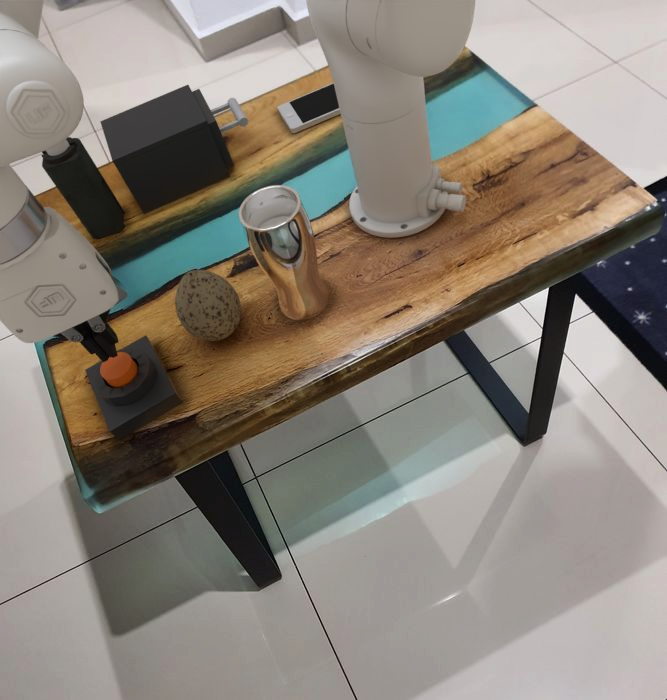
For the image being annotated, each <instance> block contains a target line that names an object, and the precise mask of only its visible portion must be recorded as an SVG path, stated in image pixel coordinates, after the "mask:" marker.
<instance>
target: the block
mask: <svg viewBox="0 0 667 700" xmlns="http://www.w3.org/2000/svg"><path fill="white" fill-rule="evenodd" d="M117 352H124V353H127V354H128V355H129V356H130V357H131V358H132V359H133V361H134V362H135V363H136V364H137V366H138V373H137V376H136V377H135V378H134V380H133V381H132V382H131V383H129V384H127V385H126V386H124V387H120V388H115V387H112V386H111V385H109V383H108V382H107V381H106V380H105V379H104V378H103V377H102V375H101V373H100V367H101V365H102V363H103V362H102V361H101V360H100V361H97V362H96V363H94V364H92V365H91V366H89V367H88V368H86V369H85V370H84V371H85V374H86V376H87V379H88V382H89V385H90V387H91V389H92V391H93V393H94V397H95V399H96V401H97V404H98V406H99V409H100V411H101V414H102V417H103V418H104V419H103V420H104V421H105V424H106V425H107V428H108V431H109V432H110V433H111V435H112V436H114V437H115V438H116V439H117V440H118V441H121V440H123V439H124V438H126V437H127V436H130V435H131V434H133V433H134V432H136V431H138V430H139V429H141V428H143V427H144V426H146V425H148V424H149V423H152V422H153V421H154V420H156V419H158V418H160V417H162V416H163V415H164V414H166V413H167V412H170V411H172V410H173V409H174V408H176V407H179V406H180V405H182V404H183V403H184V402H183V399H182V397H181V396H180V394H179V392H178V390H177V388H176V386H175V384H174V382H173V380H172V378H171V377H170V374H169V372H168V370H167V368H166V367H165V365H164V363H163V361H162V359H161V357H160V354H159V353H158V351H157V349H156V347H155V345H154V344H153V342H152V341H151V339H150V338H149V337H148V335H144V336H142V337H140V338H139V339H137V340H135V341H132V342H131V343H129V344H128V345H126V346H124V347H122V348H120V349H118V350H117Z"/></svg>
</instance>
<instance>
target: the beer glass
mask: <svg viewBox="0 0 667 700" xmlns="http://www.w3.org/2000/svg"><path fill="white" fill-rule="evenodd" d="M238 220H239V222H240V224H241V228H242V231H243V233H244V237H245V239H246V242H247V245H248V247H249V250H250V252H251V254H252V256H253V259H254V260H255V261H256V263H257V265H258V266H259V268H260V269H261V270H262V271H263V273H264V275H265V276H266V277H267V278H268V280H269V281H270V282H271V284H272V285H273V287H274V288H275V290H276V293H277V298H278V305H279V309H280V310H281V312H282V313H283V315H284V316H286V317H287V318H288V319H290V320H294V321H307V320H310V319H313V318H315V317H317V316H318V315H320V314H321V313H323V312H324V310H325V309H326V308H327V306H328V304H329V302H330V292H329V289H328V287H327V285H326V284H325V283H324V281H323V280H322V278H321V276H320V275H321V274H320V272H319V266H318V254H317V244H316V239H315V234H314V230H313V226H312V223H311V220H310V217H309V215H308V212H307V211H306V207H305V206H304V203H303V202H302V200H301V196H300V194H299V192H298V191H297V190H296V189H294V188H293V187H291V186H288V185H283V184H274V185H273V184H272V185H268V186H265V187H261V188H259V189H257V190H255V191H253V192H251V193H250V194H249V195H248V196H247V197H245V199H244V200H243V201H242V203H241V204H240V206H239V208H238Z"/></svg>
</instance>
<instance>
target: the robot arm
mask: <svg viewBox="0 0 667 700" xmlns="http://www.w3.org/2000/svg"><path fill="white" fill-rule="evenodd" d="M44 2H45V0H0V322H1V323H2V324H3V325H4V326H5V328H6V329H7V330H8V331H9V332H10V333H11V334H12V335H13V336H14V337H15V338H17V339H18V340H19V341H20V342H23V343H25V344H35V343H40V342H43V341H45V340H47V339H50V338H53V337H54V338H63V339H68V340H69V341H71V342H72V343H75V344H76V343H79V344H80V345H81V346H82V347H83V348H84V349H85V350H86V351H87V352H88V353H89V354H90V355H91V356H92V355H96V357H98V359H99V360H100V361H102V362H105V361H108V359H109V357H110V358H111V357H112V358H114V357H116V356H118V354H117V351H118V350H117V346H116V344H118V343H119V338H118V335H117V333H116V331H115V330H114V328H112V326H111V325H110V324H109V323H108V322H107V319H108V317H109V314H110V312H111V310H112V308H113V307H115V306H117V305H118V304H119V303H121V302H122V301H124V300H125V299H126V298H127V297H128V291H127V287H126V284H124V283H123V282H122V281H120V280H119V279H118V278H116V277H115V276H114V275H112V274H113V272H112V269H111V268H110V266H109V264H108V263H107V261H106V260H105V259H104V257H103V256H102V255H101V254H100V253H99V251H98V250H97V249H96V248H95V247H94V246H93V245H92V243H91V242H90V241H89V240H88V239H87V238H86V236H84V235H83V234H82V233H81V232H80V231H79V230H78V229H77V228H76V227H75V226H74V225H73V224H72V223H71V222H70V221H68V220H67V219H66V218H65V217H64V216H63V215H61V214H60V213H59V212H58V211H56V210H55V209H54V208H52V207H51V206H43V205H42V204H41V203H40V201H39V200H38V199H37V198H36V196H35V195H34V194H33V192H32V191H31V190H30V188H29V187H28V186H27V185H26V183H25V182H24V181H23V179H22V178H21V177H20V176H19V174H18V173H17V172H16V170H15V169H14V168H13V167H12V165H10V164H13V163H15V162H19V161H21V160H24V159H27V158H30V157H32V156H35V155H38V154H40V153H42V152H43V151H45V150H48V149H50V148H52V147H54V146H56V145H58V144H59V143H61V142H62V141H64V140H65V139H66V138H68V137H71V135H72V134H73V133H74V132H75V130H76V129H77V128H78V126H79V125H80V123H81V120H82V119H83V118H82V117H83V113H84V108H85V107H84V106H85V102H84V101H85V100H84V94H83V91H82V88H81V85H80V82H79V81H78V78H77V77H76V76H75V74H74V73H73V71H72V70H71V69H70V68H69V66H68V65H67V64H66V63H65V62H64V61H63V60H62V59H61V58H60V57H59V56H57V55H56V54H55V53H54V52H53V51H52V50H51V49H50V48H49V47H47V46H46V45H45V44H44V43H43V42H42V41H41V40H40V39H39V35H40V27H41V21H42V13H43V9H44V8H43V7H44ZM305 2H306V3H305V4H306V8H307V12H308V16H309V20H310V22H311V26H312V28H313V31H314V34H315V37H316V38H317V41H318V43H319V46H320V48H321V50H322V53H323V55H324V58H325V60H326V64H327V66H328V70H329V73H330V77H331V79H332V83H334V87H335V91H336V95H337V100H338V104H339V109H340V113H341V114H340V118H341V121H342V127H343V131H344V135H345V139H346V143H347V149H348V152H349V157H350V161H351V166H352V170H353V175H354V180H355V183H356V186H355V187H354V189H353V191H352V193H351V194H350V198H349V202H348V203H349V204H348V205H349V206H348V208H349V212H350V217H351V219H352V220H353V223H354V224H355V225H356V226H357V227H358V228H359V229H360V230H361V231H363V232H365V233H367V234H369V235H372V236H375V237H379V238H389V239H393V238H402V237H408V236H411V235H414V234H418V233H420V232H421V231H424V230H426V229H427V228H429V227H430V226H432V225H433V224H435V223H436V222H437V221H438V220H439V219H440V218H441V216H442V215H443V214H444V212H445V210H447V211H453V212H459V213H463V212H464V211H465V209H466V205H467V196H466V195H462V191H463V182H457V181H447V180H446V179H445V178H442V173H441V172H442V171H441V166H440V165H433V162H432V152H431V141H430V140H431V139H430V131H429V122H428V113H427V111H428V110H427V102H426V94H425V93H426V90H425V81H424V78H425V77H432V76H435V75H438V74H441V73H442V72H444V71H446V70H447V69H449V68H450V67H451V66H452V65H453V64H454V63H455V62H456V61H457V59H459V57H460V55H461V54H462V52H463V50H464V48H465V46H466V44H467V42H468V39H469V37H470V34H471V30H472V27H473V22H474V17H475V9H476V0H305Z"/></svg>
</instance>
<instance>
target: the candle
mask: <svg viewBox="0 0 667 700" xmlns="http://www.w3.org/2000/svg"><path fill="white" fill-rule="evenodd" d="M41 153H42V154H41V158H42V161H41V167H42V169H43V170H44V172H45V173H46V174H47V176H48V177H49V179H50V180H51V181H52V183H53V185H54V186H55V187H56V188H57V190H58V192H59V194H61V196H62V197H63V199H64V200H65V201H66V203H67V204H68V205H69V207H70V208H71V210H72V212H73V213H74V214H75V215H76V217H77V218H78V219H79V221H80V223H81V224H82V226H83V227H84V228H85V230H86V231H87V233H88V234H89V236H90V237H91V238H92V239H94V240H99V239H102V238H106V237H109V236H112V235H115V234H118V233H120V232H122V231H123V230H124V229H125V226H126V224H125V221H124V219H125V218H124V215H125V213H126V212H125V210H124V209H123V207H122V205H121V203H120V202H119V200H118V199H117V197H116V196H115V194H114V192H113V190H112V189H111V187H110V186H109V184H108V182H107V181H106V179H105V177H104V176H103V174H102V173H101V171H100V170H99V168H98V167H97V165H96V163H95V161H94V160H93V158H92V157H91V155H90V154H89V151H88V150H87V149H86V147H85V146H84V144H83V141H82V140H81V139H80V138H78V137H71V136H69V137H68V138H66V139H65V140H64V141H62V142H61V143H59V144H58V145H56V146H54V147H52V148H50V149H48V150H45V151H43V152H41Z"/></svg>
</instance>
